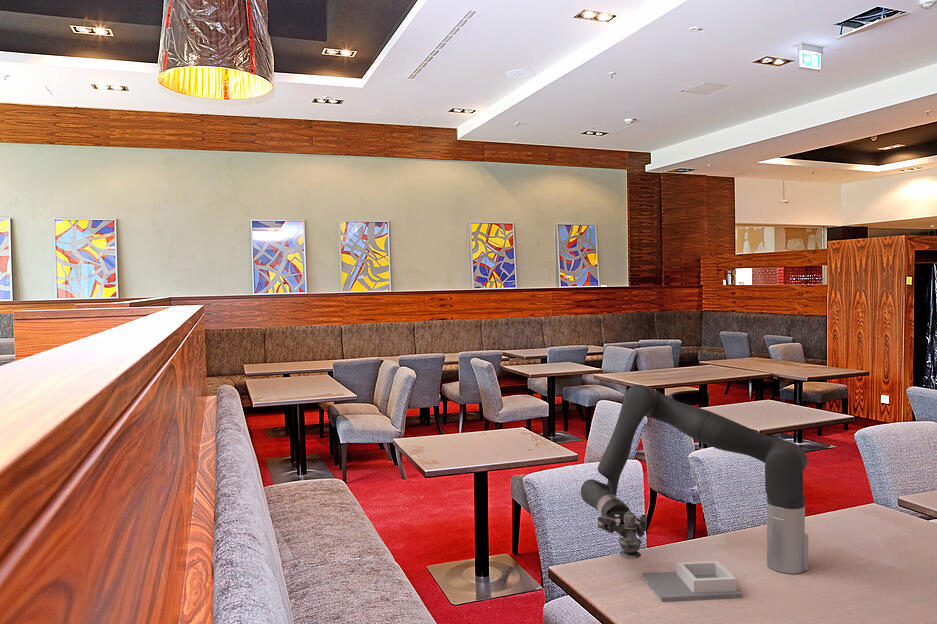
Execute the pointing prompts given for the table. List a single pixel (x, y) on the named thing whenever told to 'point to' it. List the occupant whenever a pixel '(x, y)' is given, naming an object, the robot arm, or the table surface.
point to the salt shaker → (630, 538)
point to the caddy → (694, 582)
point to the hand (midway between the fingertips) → (633, 533)
